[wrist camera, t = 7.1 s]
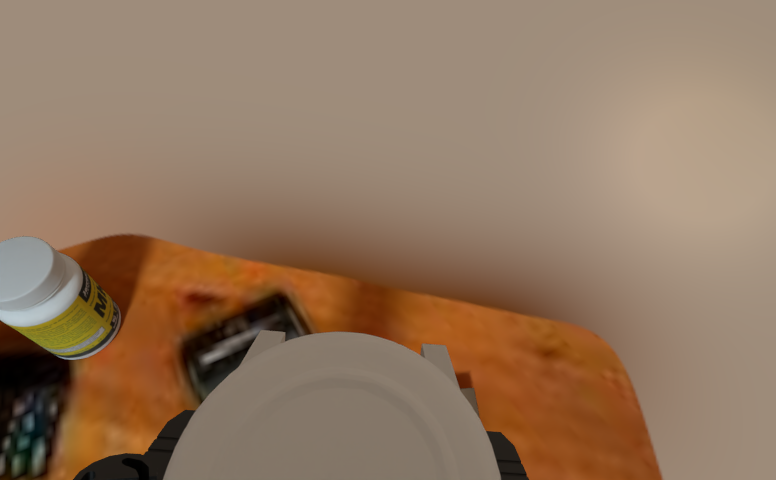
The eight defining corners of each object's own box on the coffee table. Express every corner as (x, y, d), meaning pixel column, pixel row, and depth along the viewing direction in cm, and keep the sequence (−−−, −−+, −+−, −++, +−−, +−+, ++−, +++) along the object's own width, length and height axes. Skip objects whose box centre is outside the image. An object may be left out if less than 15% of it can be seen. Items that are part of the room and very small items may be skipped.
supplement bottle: (135, 332, 32) (76, 274, 25) (63, 376, 30) (-23, 327, 23) (105, 282, 34) (41, 215, 27) (35, 321, 32) (-53, 260, 25)
